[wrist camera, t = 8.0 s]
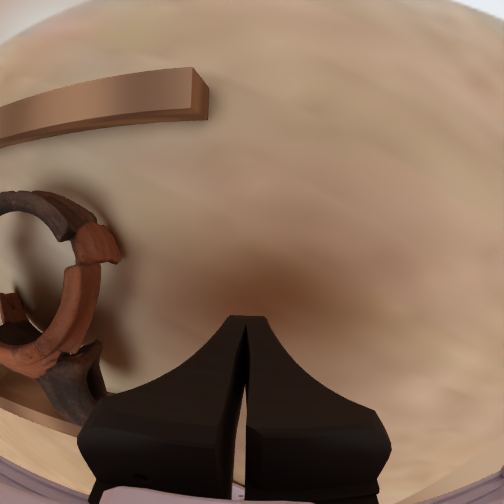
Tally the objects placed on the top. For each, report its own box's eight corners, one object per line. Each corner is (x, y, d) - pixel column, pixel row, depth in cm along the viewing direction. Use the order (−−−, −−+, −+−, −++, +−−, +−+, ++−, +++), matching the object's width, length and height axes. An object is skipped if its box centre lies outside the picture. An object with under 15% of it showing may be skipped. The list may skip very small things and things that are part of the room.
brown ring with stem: (-8, 263, 16) (-81, 240, 8) (97, 193, 19) (60, 129, 11) (73, 421, 16) (26, 478, 8) (188, 356, 18) (199, 392, 10)
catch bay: (208, 88, 12) (192, 66, 9) (216, 422, 18) (209, 463, 15) (-40, 138, 13) (-76, 142, 9) (8, 377, 18) (-14, 401, 15)
